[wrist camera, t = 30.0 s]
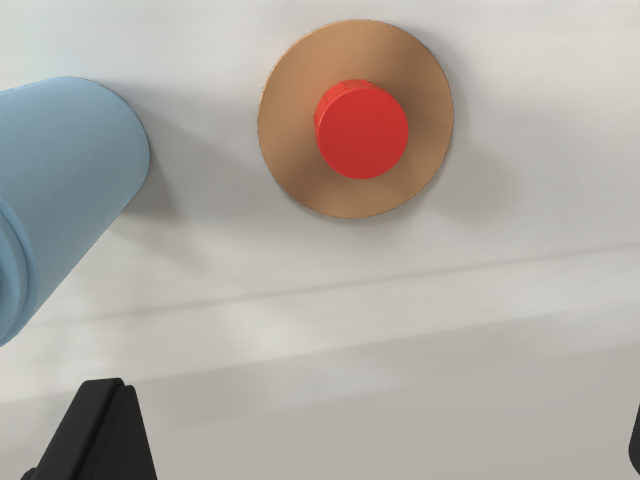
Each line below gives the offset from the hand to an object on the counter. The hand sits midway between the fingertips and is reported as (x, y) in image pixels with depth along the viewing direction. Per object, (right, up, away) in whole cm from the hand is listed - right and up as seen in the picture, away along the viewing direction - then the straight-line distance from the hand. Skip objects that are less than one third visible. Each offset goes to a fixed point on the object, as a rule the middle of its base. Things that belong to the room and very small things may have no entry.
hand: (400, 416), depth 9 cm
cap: (0, +9, +16) cm, 19 cm away
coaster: (0, +9, +17) cm, 19 cm away
